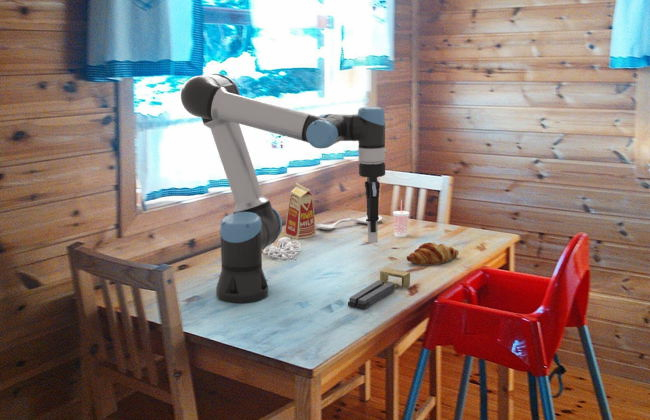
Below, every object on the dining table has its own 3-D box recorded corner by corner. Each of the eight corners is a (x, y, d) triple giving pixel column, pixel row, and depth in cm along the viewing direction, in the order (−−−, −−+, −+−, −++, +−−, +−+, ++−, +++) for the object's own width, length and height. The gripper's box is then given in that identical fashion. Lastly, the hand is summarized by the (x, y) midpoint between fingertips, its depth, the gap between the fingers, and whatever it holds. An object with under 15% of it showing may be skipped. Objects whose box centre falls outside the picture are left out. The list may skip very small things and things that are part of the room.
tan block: (385, 279, 228) (386, 267, 227) (409, 284, 223) (410, 272, 222) (379, 283, 224) (380, 271, 223) (403, 287, 220) (404, 275, 219)
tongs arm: (377, 287, 221) (377, 280, 220) (384, 288, 220) (384, 281, 219) (347, 305, 205) (347, 298, 205) (355, 307, 204) (355, 299, 203)
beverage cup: (411, 234, 282) (412, 199, 279) (404, 238, 277) (405, 201, 274) (396, 232, 285) (397, 197, 282) (389, 236, 280) (390, 200, 277)
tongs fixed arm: (387, 284, 224) (387, 276, 224) (402, 287, 221) (402, 279, 221) (348, 306, 205) (348, 298, 205) (363, 310, 203) (364, 301, 202)
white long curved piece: (308, 230, 290) (308, 221, 289) (373, 219, 307) (373, 211, 306) (321, 234, 282) (321, 226, 282) (386, 223, 300) (386, 215, 299)
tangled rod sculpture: (303, 264, 249) (304, 252, 248) (261, 261, 247) (261, 250, 246) (298, 246, 268) (299, 236, 267) (258, 244, 266) (259, 233, 265)
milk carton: (284, 235, 281) (283, 183, 276) (302, 231, 287) (302, 180, 282) (299, 239, 274) (299, 187, 270) (318, 235, 280) (318, 184, 276)
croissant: (451, 264, 256) (446, 242, 258) (469, 257, 248) (463, 235, 249) (402, 272, 246) (396, 249, 248) (419, 265, 237) (413, 241, 239)
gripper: (388, 165, 203) (388, 247, 208) (382, 158, 215) (382, 236, 221) (361, 165, 202) (362, 248, 208) (356, 158, 215) (357, 236, 220)
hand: (372, 242), depth 214 cm, fingers closed
